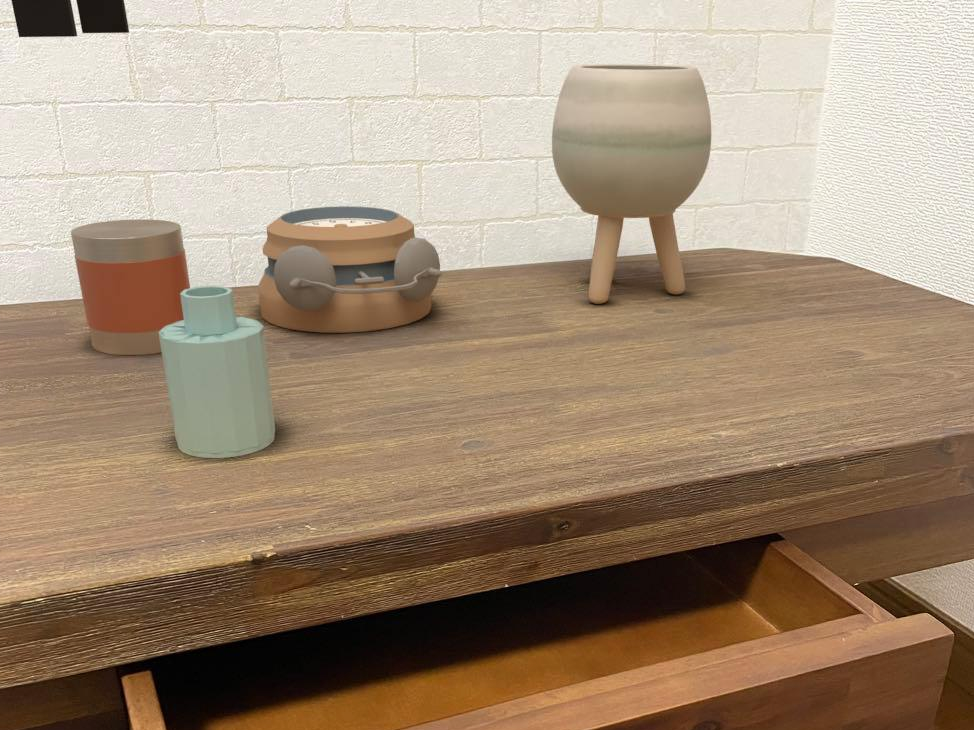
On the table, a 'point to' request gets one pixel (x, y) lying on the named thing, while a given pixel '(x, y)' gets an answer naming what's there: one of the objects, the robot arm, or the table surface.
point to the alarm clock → (346, 271)
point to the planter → (632, 155)
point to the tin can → (130, 282)
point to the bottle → (217, 377)
